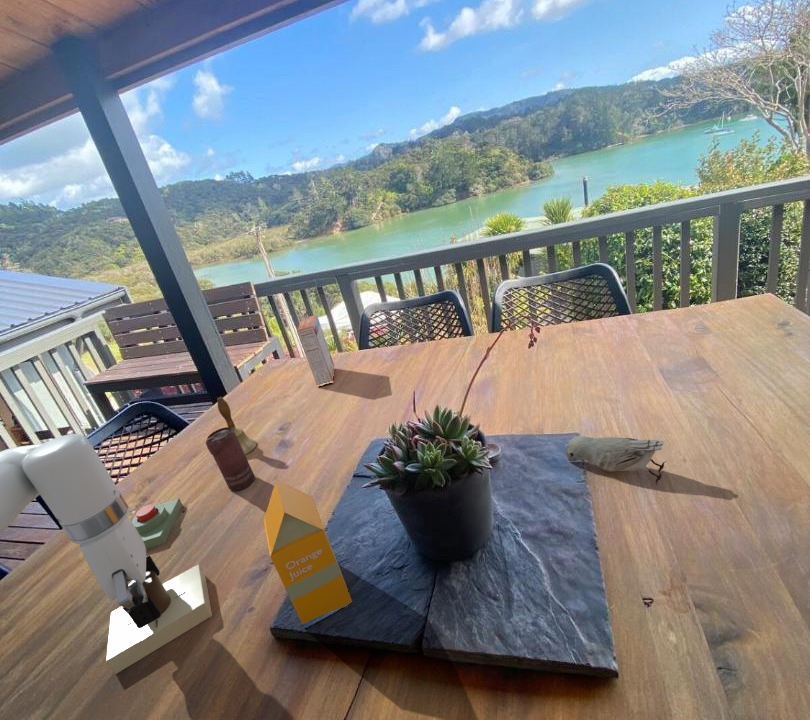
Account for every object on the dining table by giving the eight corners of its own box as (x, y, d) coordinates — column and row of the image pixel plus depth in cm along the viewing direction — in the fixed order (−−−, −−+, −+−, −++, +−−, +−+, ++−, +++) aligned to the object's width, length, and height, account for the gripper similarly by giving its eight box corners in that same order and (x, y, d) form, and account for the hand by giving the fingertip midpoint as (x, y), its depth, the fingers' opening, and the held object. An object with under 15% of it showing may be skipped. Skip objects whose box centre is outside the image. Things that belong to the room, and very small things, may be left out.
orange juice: (304, 630, 63) (254, 526, 55) (294, 586, 70) (249, 489, 63) (354, 603, 65) (312, 498, 57) (339, 563, 73) (300, 466, 65)
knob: (171, 609, 68) (154, 583, 66) (141, 626, 67) (123, 600, 64) (170, 590, 72) (155, 564, 70) (142, 605, 70) (125, 580, 68)
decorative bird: (571, 453, 84) (568, 420, 81) (668, 469, 74) (667, 433, 71) (563, 470, 80) (559, 436, 77) (663, 490, 70) (663, 452, 68)
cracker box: (319, 372, 157) (300, 318, 149) (335, 368, 157) (317, 313, 149) (316, 388, 144) (295, 330, 136) (334, 384, 144) (314, 325, 136)
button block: (165, 543, 88) (156, 529, 87) (125, 556, 88) (116, 541, 86) (183, 505, 99) (175, 491, 98) (148, 516, 99) (140, 502, 97)
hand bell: (235, 442, 122) (213, 392, 116) (262, 438, 120) (240, 388, 114) (220, 460, 114) (195, 408, 109) (248, 457, 113) (224, 404, 107)
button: (153, 519, 91) (150, 513, 90) (136, 524, 90) (132, 518, 90) (160, 508, 94) (156, 502, 93) (143, 513, 94) (139, 507, 93)
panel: (115, 674, 63) (104, 660, 62) (119, 624, 72) (110, 611, 71) (212, 616, 69) (204, 602, 68) (205, 575, 77) (198, 563, 76)
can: (224, 488, 102) (199, 438, 97) (248, 472, 106) (225, 423, 101) (235, 496, 98) (210, 445, 93) (260, 479, 102) (237, 429, 96)
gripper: (75, 499, 68) (126, 577, 74) (55, 568, 53) (121, 658, 60) (127, 476, 71) (172, 553, 77) (122, 535, 56) (178, 624, 63)
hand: (150, 598), depth 68 cm, fingers open, 9 cm apart
